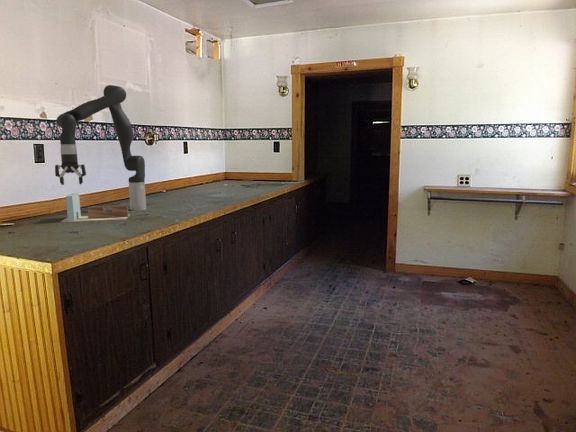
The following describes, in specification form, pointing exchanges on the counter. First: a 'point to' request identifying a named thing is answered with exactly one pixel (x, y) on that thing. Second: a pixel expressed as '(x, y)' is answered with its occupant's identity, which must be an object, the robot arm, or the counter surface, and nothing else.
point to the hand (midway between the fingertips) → (71, 184)
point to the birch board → (94, 219)
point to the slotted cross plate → (73, 206)
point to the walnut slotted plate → (100, 213)
